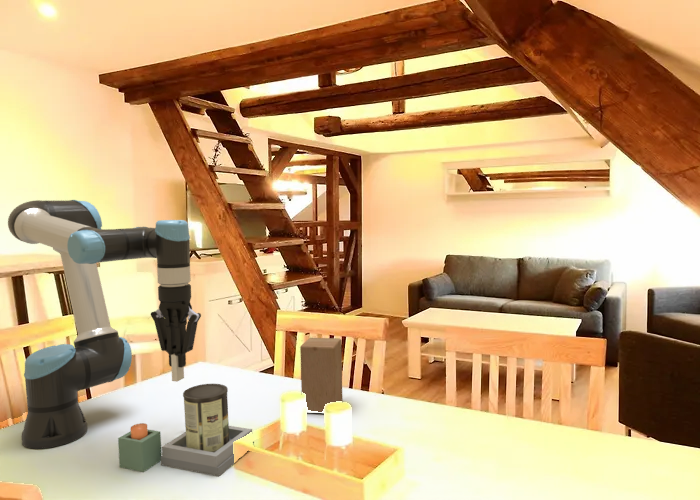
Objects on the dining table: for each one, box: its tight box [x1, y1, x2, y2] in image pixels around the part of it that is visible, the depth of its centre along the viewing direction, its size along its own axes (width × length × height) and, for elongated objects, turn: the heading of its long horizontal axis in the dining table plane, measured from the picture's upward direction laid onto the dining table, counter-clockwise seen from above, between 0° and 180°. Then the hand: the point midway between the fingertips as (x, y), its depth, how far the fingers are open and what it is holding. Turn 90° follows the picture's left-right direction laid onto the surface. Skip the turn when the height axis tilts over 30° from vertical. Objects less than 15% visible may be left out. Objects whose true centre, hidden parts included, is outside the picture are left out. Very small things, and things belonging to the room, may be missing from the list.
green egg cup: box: [117, 428, 162, 473], centre depth 122 cm, size 7×6×7 cm
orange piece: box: [130, 423, 149, 440], centre depth 122 cm, size 4×4×5 cm
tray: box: [160, 425, 253, 477], centre depth 125 cm, size 16×15×4 cm
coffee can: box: [182, 383, 230, 452], centre depth 125 cm, size 10×10×14 cm
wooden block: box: [299, 337, 343, 412], centre depth 153 cm, size 10×10×20 cm
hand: (178, 379), depth 127 cm, fingers closed
